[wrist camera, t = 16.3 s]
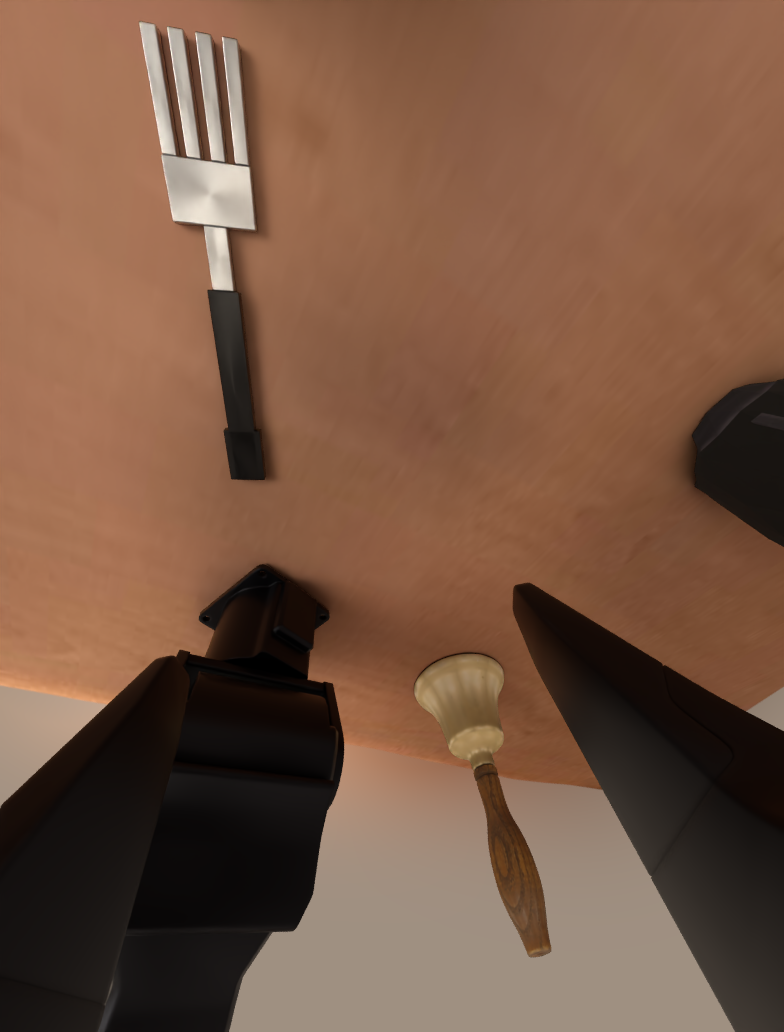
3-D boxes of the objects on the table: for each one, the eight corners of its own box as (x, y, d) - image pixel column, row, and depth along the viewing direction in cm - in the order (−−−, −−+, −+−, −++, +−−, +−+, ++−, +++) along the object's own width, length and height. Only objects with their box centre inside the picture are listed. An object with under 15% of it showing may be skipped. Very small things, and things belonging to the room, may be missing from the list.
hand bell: (409, 714, 34) (455, 986, 20) (419, 654, 30) (486, 945, 16) (491, 707, 35) (588, 960, 22) (512, 650, 31) (647, 916, 18)
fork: (279, 476, 21) (277, 480, 20) (220, 475, 20) (217, 479, 20) (241, 45, 13) (237, 36, 12) (142, 27, 12) (135, 17, 12)
